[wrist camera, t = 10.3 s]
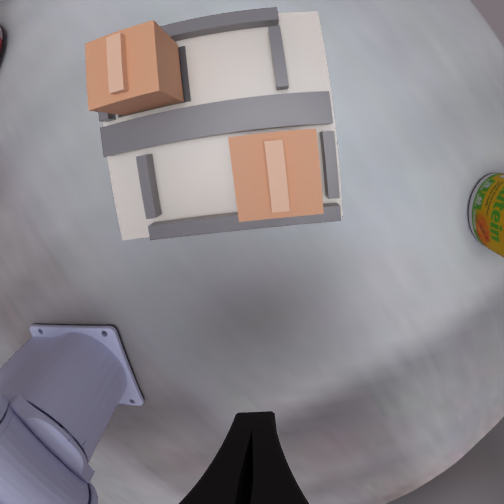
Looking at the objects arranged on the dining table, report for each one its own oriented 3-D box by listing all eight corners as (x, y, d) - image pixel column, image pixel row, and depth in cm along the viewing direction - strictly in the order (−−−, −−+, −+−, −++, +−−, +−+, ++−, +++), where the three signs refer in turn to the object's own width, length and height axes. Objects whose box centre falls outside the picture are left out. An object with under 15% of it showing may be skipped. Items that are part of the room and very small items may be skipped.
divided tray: (130, 234, 20) (115, 245, 18) (106, 56, 16) (90, 48, 14) (338, 212, 18) (346, 221, 16) (314, 19, 15) (319, 4, 13)
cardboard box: (125, 115, 16) (83, 109, 11) (120, 60, 15) (80, 41, 10) (183, 102, 15) (155, 88, 11) (178, 44, 14) (149, 16, 10)
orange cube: (245, 205, 17) (237, 224, 13) (238, 139, 16) (226, 136, 12) (311, 198, 17) (325, 216, 12) (305, 132, 16) (317, 127, 11)
